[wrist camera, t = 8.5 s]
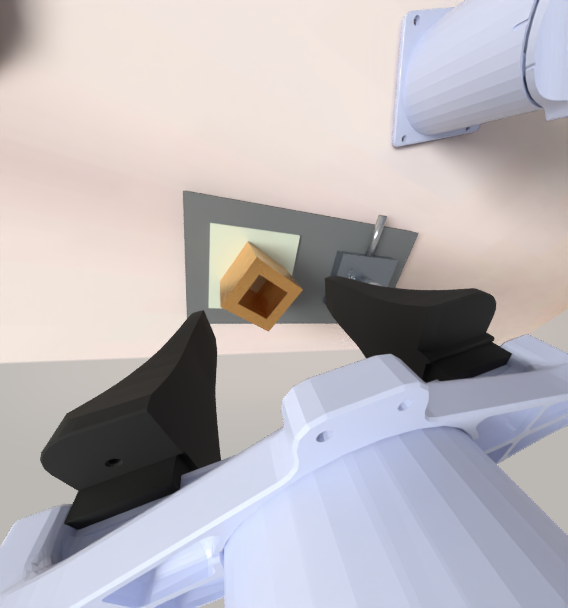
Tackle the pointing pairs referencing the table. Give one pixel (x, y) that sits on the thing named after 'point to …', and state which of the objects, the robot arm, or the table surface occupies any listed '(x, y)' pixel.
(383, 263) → the vise
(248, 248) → the collar
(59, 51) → the table surface
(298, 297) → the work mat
